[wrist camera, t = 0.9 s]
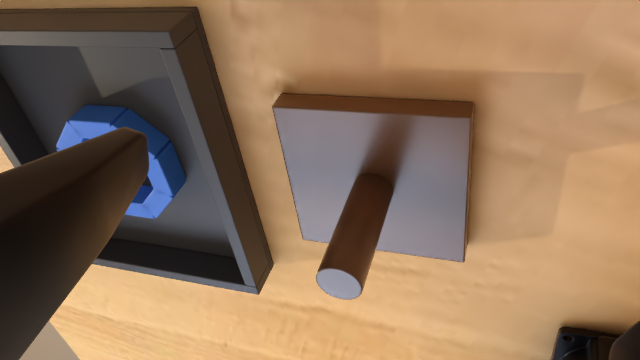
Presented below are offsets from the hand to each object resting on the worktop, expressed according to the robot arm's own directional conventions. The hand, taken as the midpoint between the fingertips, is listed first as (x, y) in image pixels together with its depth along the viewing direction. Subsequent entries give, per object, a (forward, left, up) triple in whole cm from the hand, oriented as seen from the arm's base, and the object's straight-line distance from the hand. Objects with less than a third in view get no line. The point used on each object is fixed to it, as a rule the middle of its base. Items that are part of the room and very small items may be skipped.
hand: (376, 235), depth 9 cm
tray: (-10, +19, -14) cm, 26 cm away
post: (-10, +4, -14) cm, 18 cm away
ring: (-10, +19, -13) cm, 25 cm away
